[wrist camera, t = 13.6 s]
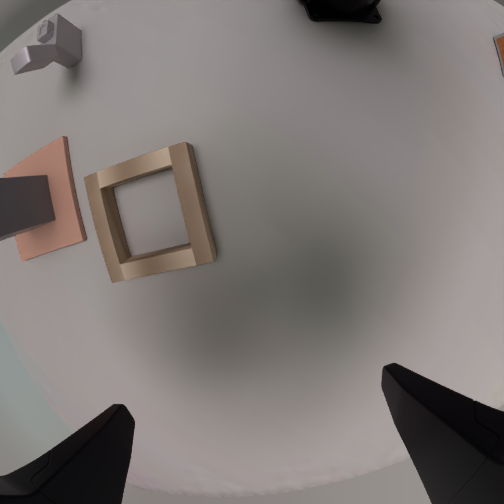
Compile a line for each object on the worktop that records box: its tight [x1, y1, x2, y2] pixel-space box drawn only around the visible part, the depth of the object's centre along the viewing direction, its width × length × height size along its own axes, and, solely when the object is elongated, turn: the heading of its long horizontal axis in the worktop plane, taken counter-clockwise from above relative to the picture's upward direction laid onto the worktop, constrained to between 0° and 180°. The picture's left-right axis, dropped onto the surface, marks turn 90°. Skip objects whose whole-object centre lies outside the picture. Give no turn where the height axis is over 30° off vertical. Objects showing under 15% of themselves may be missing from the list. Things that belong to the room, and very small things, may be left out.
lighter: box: [11, 13, 82, 75], centre depth 12 cm, size 7×2×8 cm, turn 14°
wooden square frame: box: [84, 142, 217, 283], centre depth 18 cm, size 8×8×2 cm
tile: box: [4, 136, 87, 261], centre depth 18 cm, size 9×9×1 cm
